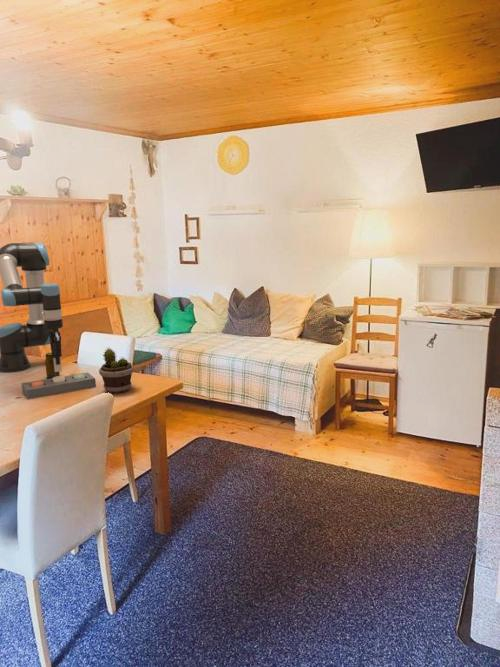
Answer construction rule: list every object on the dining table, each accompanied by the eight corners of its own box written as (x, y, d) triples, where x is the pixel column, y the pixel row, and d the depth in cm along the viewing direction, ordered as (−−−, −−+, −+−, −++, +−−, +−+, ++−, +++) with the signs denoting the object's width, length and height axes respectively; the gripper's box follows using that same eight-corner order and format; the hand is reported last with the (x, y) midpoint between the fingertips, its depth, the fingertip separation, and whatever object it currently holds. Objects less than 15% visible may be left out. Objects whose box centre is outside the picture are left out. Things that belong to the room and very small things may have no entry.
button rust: (31, 389, 218) (30, 382, 217) (43, 387, 220) (42, 380, 220) (33, 392, 214) (32, 385, 213) (45, 390, 216) (44, 383, 216)
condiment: (58, 374, 246) (56, 351, 243) (64, 378, 239) (62, 354, 237) (43, 377, 241) (40, 353, 239) (48, 381, 235) (46, 356, 232)
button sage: (72, 382, 227) (72, 375, 227) (83, 380, 230) (83, 373, 229) (75, 385, 223) (75, 377, 223) (86, 383, 226) (86, 376, 225)
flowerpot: (142, 388, 222) (139, 344, 218) (117, 397, 210) (113, 352, 205) (118, 383, 230) (115, 341, 226) (93, 392, 217) (89, 348, 213)
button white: (52, 384, 222) (51, 377, 222) (63, 382, 225) (63, 375, 224) (54, 387, 218) (54, 379, 218) (66, 385, 221) (65, 377, 220)
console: (22, 391, 219) (21, 383, 218) (88, 380, 235) (87, 372, 234) (27, 399, 209) (26, 390, 209) (95, 386, 225) (95, 378, 224)
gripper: (40, 318, 219) (46, 369, 223) (47, 321, 208) (52, 375, 213) (58, 316, 223) (63, 366, 228) (65, 320, 212) (70, 372, 217)
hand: (58, 371), depth 220 cm, fingers closed
